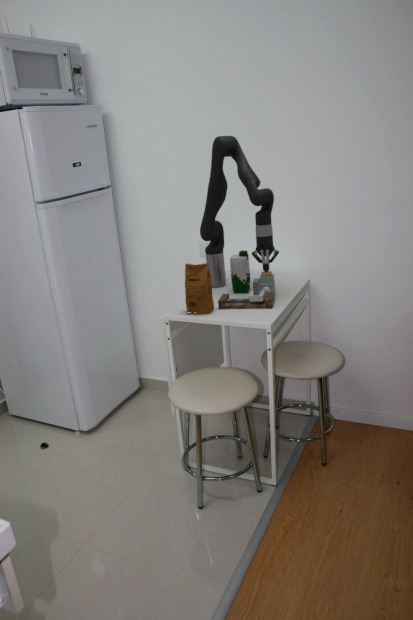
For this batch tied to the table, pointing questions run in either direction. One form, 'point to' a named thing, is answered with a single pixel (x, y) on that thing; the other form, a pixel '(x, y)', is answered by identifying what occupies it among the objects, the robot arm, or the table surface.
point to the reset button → (266, 274)
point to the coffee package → (198, 288)
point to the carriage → (256, 291)
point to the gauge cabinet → (267, 284)
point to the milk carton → (240, 272)
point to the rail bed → (245, 302)
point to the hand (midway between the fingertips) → (266, 271)
